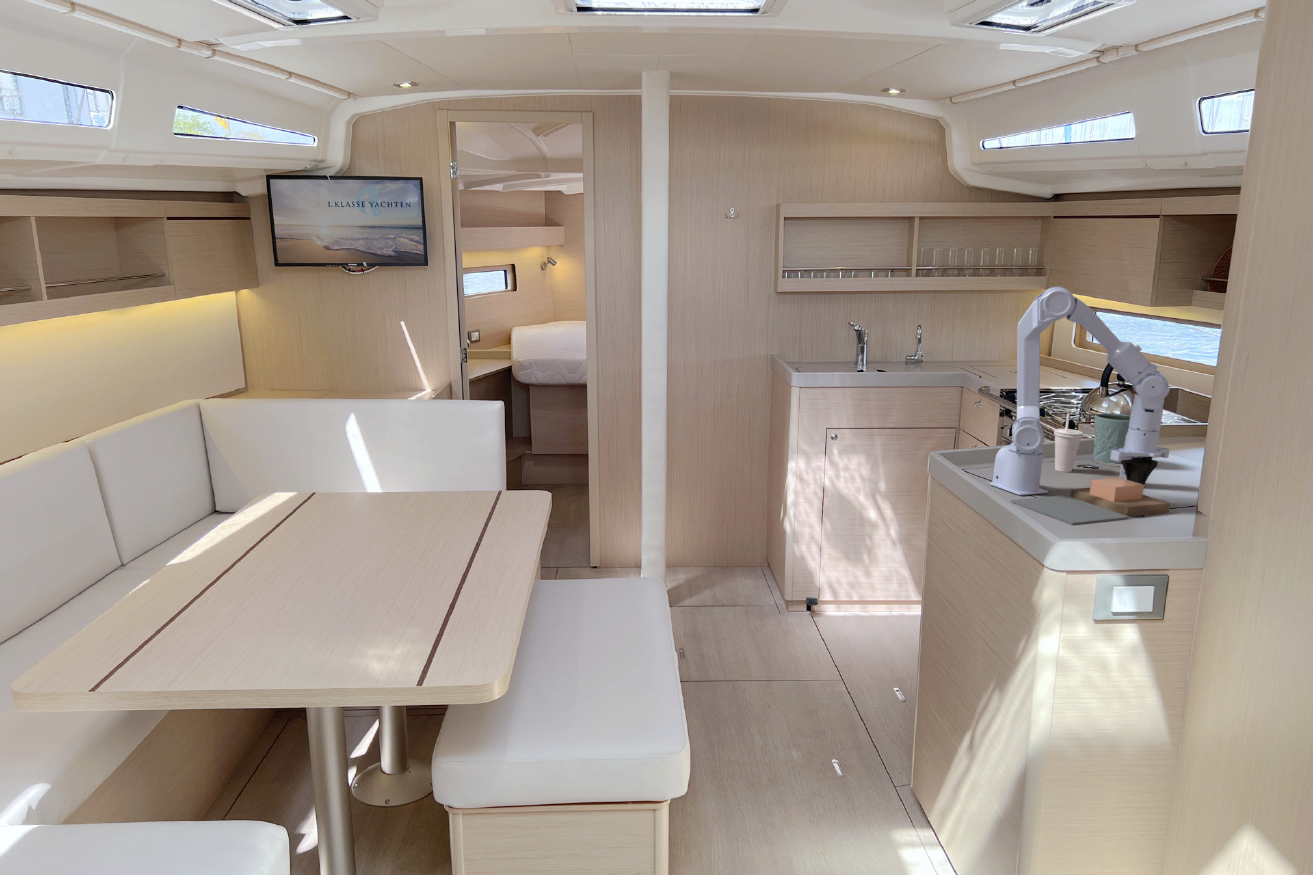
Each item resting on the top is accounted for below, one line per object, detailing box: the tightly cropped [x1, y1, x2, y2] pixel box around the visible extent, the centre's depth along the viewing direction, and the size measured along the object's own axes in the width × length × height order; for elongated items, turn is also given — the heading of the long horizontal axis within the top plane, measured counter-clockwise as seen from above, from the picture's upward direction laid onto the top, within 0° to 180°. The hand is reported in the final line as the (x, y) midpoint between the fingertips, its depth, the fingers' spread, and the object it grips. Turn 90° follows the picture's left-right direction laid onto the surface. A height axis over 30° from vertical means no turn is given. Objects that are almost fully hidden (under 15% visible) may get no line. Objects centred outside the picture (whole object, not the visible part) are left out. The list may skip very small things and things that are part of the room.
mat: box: [1010, 494, 1130, 526], centre depth 180 cm, size 16×15×1 cm
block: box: [1089, 477, 1145, 502], centre depth 184 cm, size 6×8×3 cm
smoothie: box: [1053, 412, 1084, 473], centre depth 213 cm, size 6×6×14 cm
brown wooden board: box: [1069, 486, 1171, 518], centre depth 185 cm, size 14×12×2 cm
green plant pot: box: [1092, 412, 1131, 464], centre depth 223 cm, size 10×10×12 cm
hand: (1134, 492), depth 186 cm, fingers closed
